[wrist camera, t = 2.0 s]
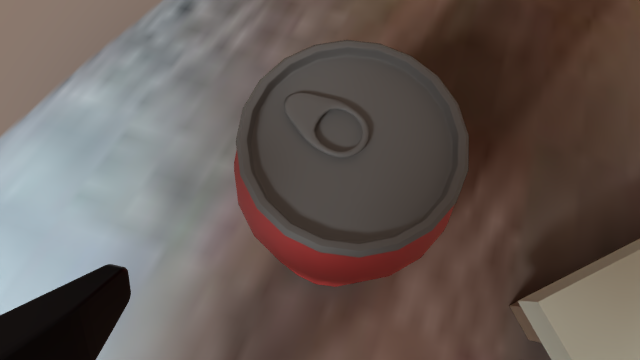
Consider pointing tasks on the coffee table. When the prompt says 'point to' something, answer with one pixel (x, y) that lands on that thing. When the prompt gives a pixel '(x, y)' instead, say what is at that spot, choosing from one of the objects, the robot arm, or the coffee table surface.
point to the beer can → (349, 161)
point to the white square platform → (588, 310)
